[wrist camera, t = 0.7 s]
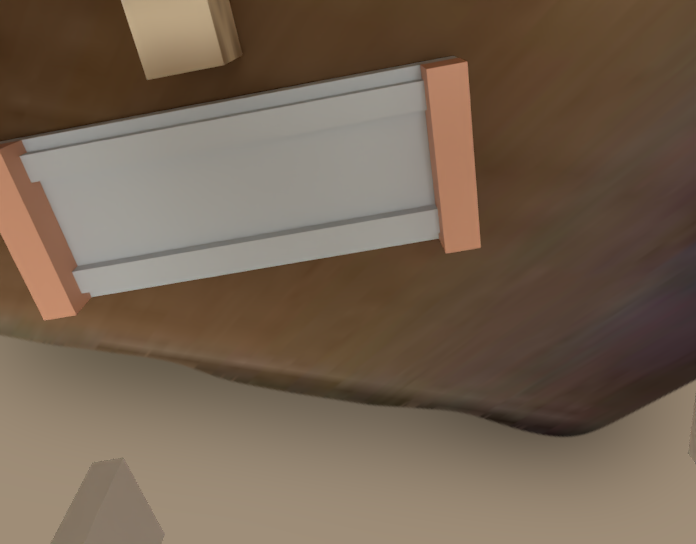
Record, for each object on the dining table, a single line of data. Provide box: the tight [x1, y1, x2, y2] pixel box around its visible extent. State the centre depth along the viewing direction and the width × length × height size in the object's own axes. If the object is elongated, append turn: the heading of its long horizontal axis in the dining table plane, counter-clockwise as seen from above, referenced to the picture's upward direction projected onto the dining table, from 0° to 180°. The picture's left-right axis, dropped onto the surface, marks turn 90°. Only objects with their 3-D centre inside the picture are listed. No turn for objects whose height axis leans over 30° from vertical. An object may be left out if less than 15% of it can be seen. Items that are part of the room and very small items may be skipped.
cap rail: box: [0, 56, 481, 320], centre depth 31 cm, size 26×10×3 cm, turn 100°
